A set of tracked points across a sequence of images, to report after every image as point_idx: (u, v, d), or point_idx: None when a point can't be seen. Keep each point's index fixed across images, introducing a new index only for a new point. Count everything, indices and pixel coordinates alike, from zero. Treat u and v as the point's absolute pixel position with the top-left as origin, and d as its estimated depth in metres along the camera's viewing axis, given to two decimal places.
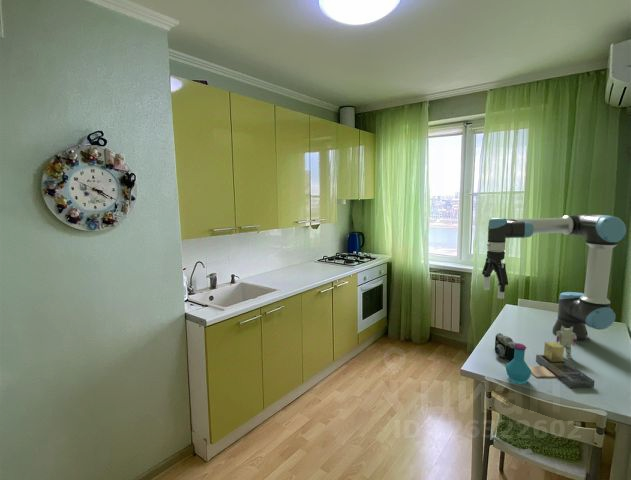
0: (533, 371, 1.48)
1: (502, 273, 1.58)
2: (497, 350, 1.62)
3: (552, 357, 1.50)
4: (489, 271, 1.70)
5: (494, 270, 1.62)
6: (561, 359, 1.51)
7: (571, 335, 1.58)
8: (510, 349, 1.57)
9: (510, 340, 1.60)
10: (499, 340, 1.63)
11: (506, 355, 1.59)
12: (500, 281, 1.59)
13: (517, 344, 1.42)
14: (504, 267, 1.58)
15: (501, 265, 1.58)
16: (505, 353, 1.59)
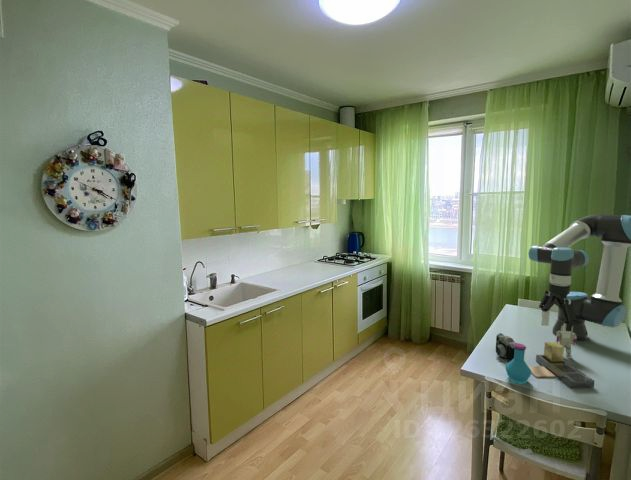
0: (533, 371, 1.48)
1: (569, 310, 1.41)
2: (498, 350, 1.62)
3: (552, 357, 1.50)
4: (549, 305, 1.54)
5: (558, 306, 1.46)
6: (561, 359, 1.51)
7: (571, 335, 1.58)
8: (511, 349, 1.57)
9: (511, 340, 1.60)
10: (500, 340, 1.63)
11: (507, 355, 1.59)
12: (566, 319, 1.42)
13: (517, 344, 1.42)
14: (571, 304, 1.42)
15: (568, 301, 1.42)
16: (506, 353, 1.59)
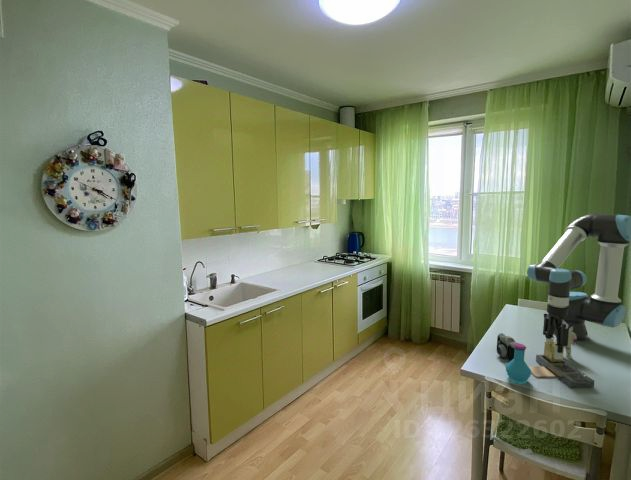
0: (533, 371, 1.48)
1: (564, 334, 1.45)
2: (499, 350, 1.62)
3: (552, 356, 1.50)
4: (551, 329, 1.53)
5: (554, 327, 1.49)
6: (561, 359, 1.51)
7: (571, 335, 1.58)
8: (512, 349, 1.57)
9: (512, 340, 1.60)
10: (501, 340, 1.63)
11: (508, 355, 1.59)
12: (559, 342, 1.48)
13: (517, 344, 1.42)
14: (568, 328, 1.45)
15: (565, 327, 1.44)
16: (507, 353, 1.59)
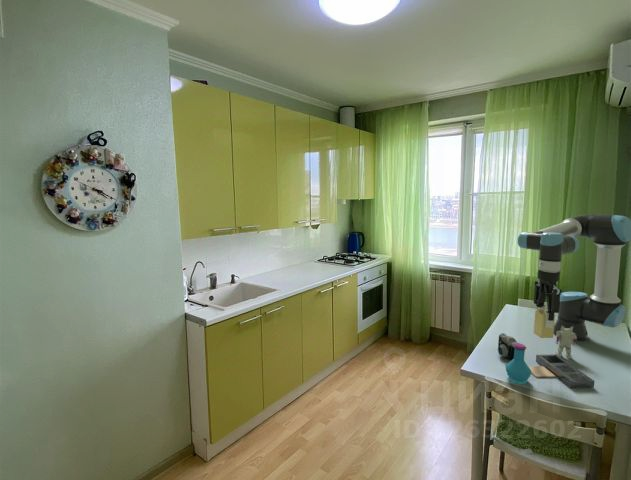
0: (533, 371, 1.48)
1: (555, 300, 1.38)
2: (500, 350, 1.62)
3: (543, 325, 1.43)
4: (542, 297, 1.46)
5: (545, 293, 1.42)
6: (552, 328, 1.43)
7: (571, 335, 1.58)
8: (513, 349, 1.56)
9: (513, 340, 1.59)
10: (502, 340, 1.63)
11: (509, 355, 1.59)
12: (549, 309, 1.40)
13: (517, 344, 1.42)
14: (559, 294, 1.37)
15: (556, 292, 1.37)
16: (508, 353, 1.59)
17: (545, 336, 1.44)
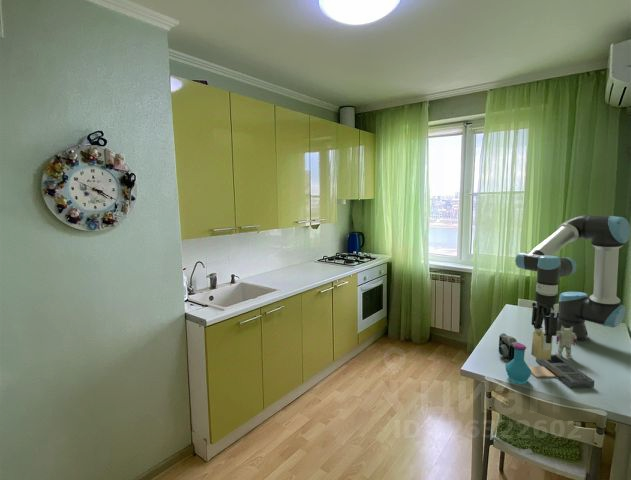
0: (533, 371, 1.48)
1: (552, 324, 1.39)
2: (501, 350, 1.62)
3: (540, 347, 1.44)
4: (540, 319, 1.47)
5: (543, 316, 1.43)
6: (550, 350, 1.44)
7: (571, 335, 1.58)
8: (514, 349, 1.56)
9: (514, 340, 1.59)
10: (503, 340, 1.63)
11: (510, 355, 1.59)
12: (547, 331, 1.41)
13: (517, 344, 1.42)
14: (556, 317, 1.38)
15: (554, 315, 1.38)
16: (509, 353, 1.59)
17: (543, 358, 1.45)
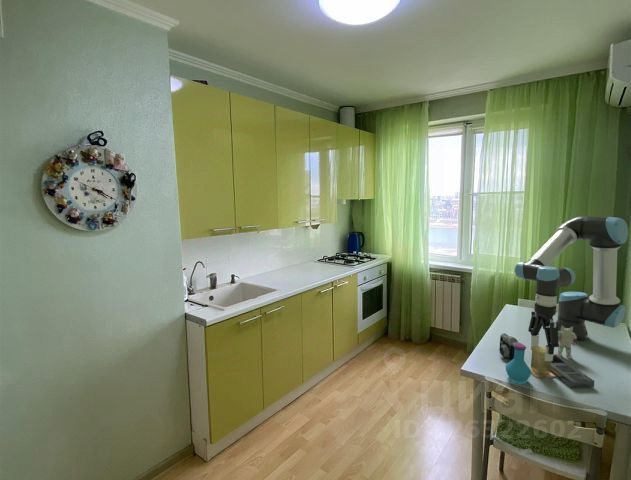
0: (533, 371, 1.48)
1: (553, 334, 1.38)
2: (501, 350, 1.62)
3: (539, 362, 1.45)
4: (537, 328, 1.49)
5: (543, 327, 1.43)
6: (549, 364, 1.45)
7: (571, 335, 1.58)
8: (514, 349, 1.56)
9: (515, 340, 1.59)
10: (504, 340, 1.63)
11: (510, 355, 1.59)
12: (549, 342, 1.40)
13: (517, 344, 1.42)
14: (556, 327, 1.38)
15: (553, 325, 1.38)
16: (509, 353, 1.59)
17: (542, 373, 1.46)
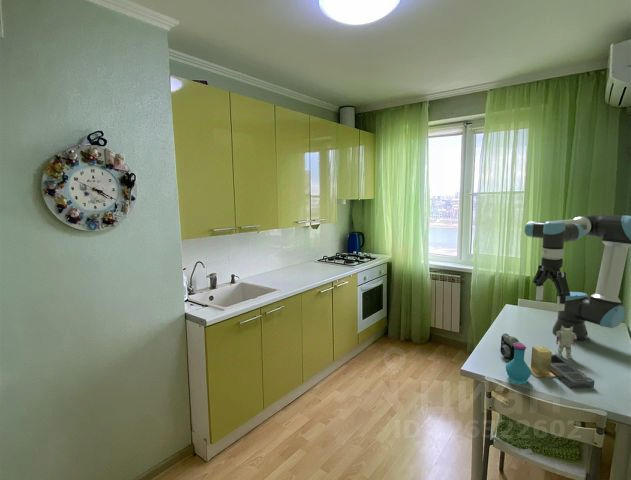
0: (533, 371, 1.48)
1: (563, 283, 1.42)
2: (502, 350, 1.62)
3: (539, 362, 1.45)
4: (543, 280, 1.55)
5: (551, 279, 1.47)
6: (549, 364, 1.45)
7: (571, 335, 1.58)
8: None
9: (516, 340, 1.59)
10: (505, 340, 1.63)
11: (511, 355, 1.59)
12: (560, 292, 1.43)
13: (517, 344, 1.42)
14: (564, 276, 1.43)
15: (561, 274, 1.43)
16: (510, 353, 1.59)
17: (542, 373, 1.46)
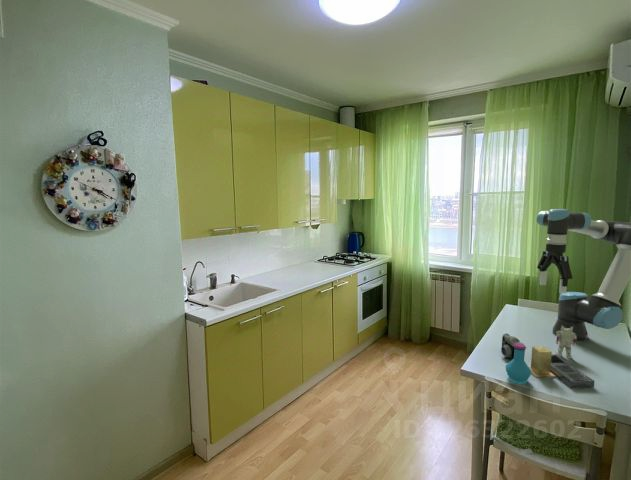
0: (533, 371, 1.48)
1: (565, 266, 1.51)
2: (503, 350, 1.62)
3: (539, 362, 1.45)
4: (546, 265, 1.63)
5: (555, 264, 1.56)
6: (549, 364, 1.45)
7: (571, 335, 1.58)
8: None
9: (517, 340, 1.59)
10: (506, 340, 1.63)
11: (512, 355, 1.58)
12: (563, 275, 1.52)
13: (517, 344, 1.42)
14: (567, 260, 1.51)
15: (564, 258, 1.51)
16: (511, 353, 1.58)
17: (542, 373, 1.46)
